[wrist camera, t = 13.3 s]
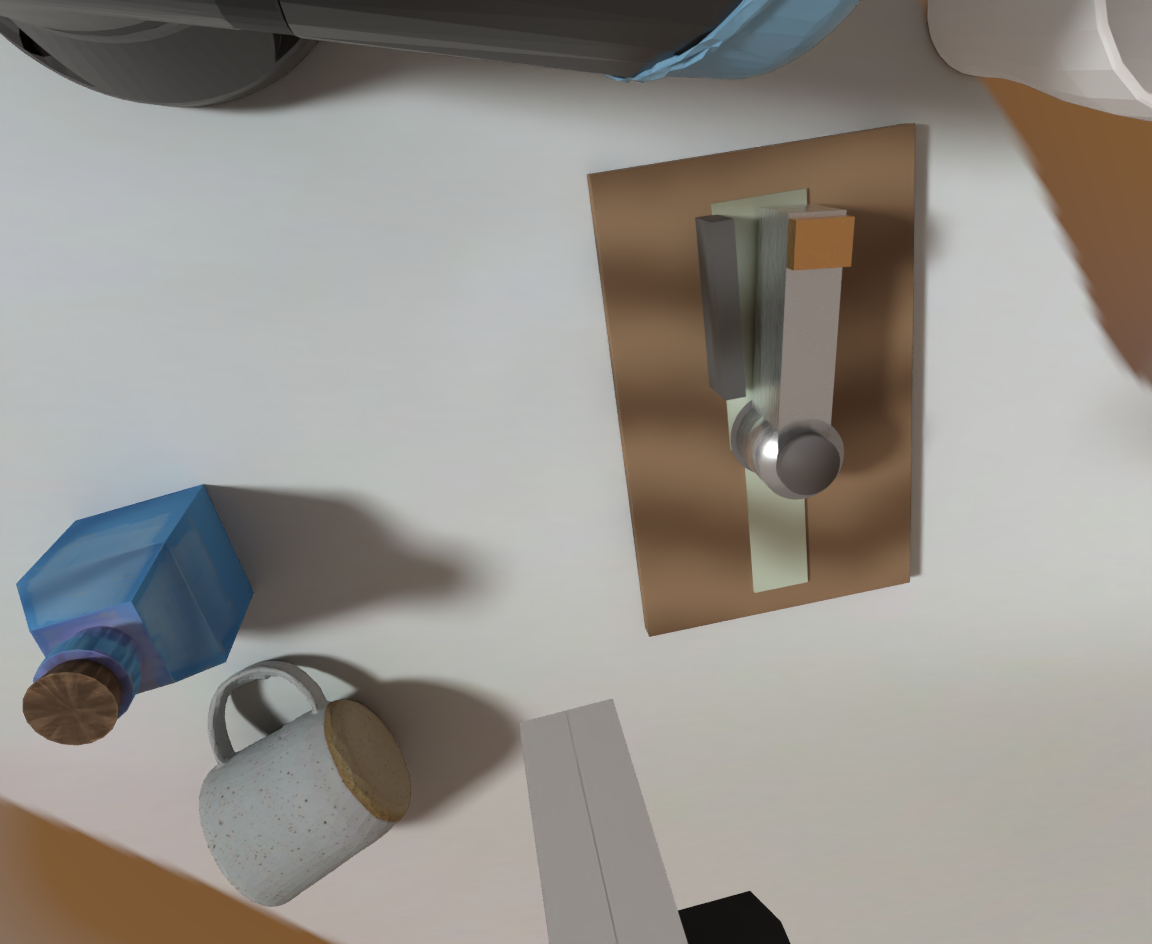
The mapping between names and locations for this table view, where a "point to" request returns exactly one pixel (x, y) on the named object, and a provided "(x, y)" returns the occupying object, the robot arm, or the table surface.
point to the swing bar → (795, 332)
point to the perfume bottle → (129, 611)
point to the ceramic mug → (298, 791)
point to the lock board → (725, 377)
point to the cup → (1054, 47)
